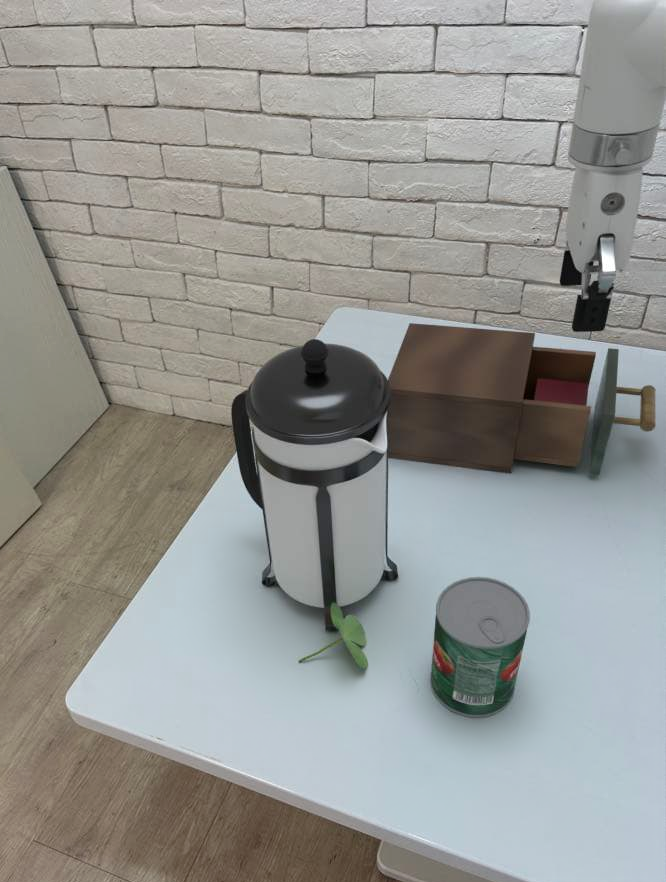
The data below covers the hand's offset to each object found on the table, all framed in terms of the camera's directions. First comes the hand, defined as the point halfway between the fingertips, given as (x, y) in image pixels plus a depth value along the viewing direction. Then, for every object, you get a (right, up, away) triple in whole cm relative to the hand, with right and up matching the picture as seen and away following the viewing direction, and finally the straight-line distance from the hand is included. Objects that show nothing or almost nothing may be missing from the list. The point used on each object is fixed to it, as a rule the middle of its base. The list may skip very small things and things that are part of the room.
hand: (580, 306), depth 87 cm
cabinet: (-9, -11, +17) cm, 22 cm away
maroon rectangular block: (+2, -12, +12) cm, 17 cm away
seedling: (-27, -37, -6) cm, 46 cm away
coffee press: (-28, -30, +2) cm, 41 cm away
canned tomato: (-15, -39, -10) cm, 43 cm away
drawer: (+2, -13, +12) cm, 18 cm away
